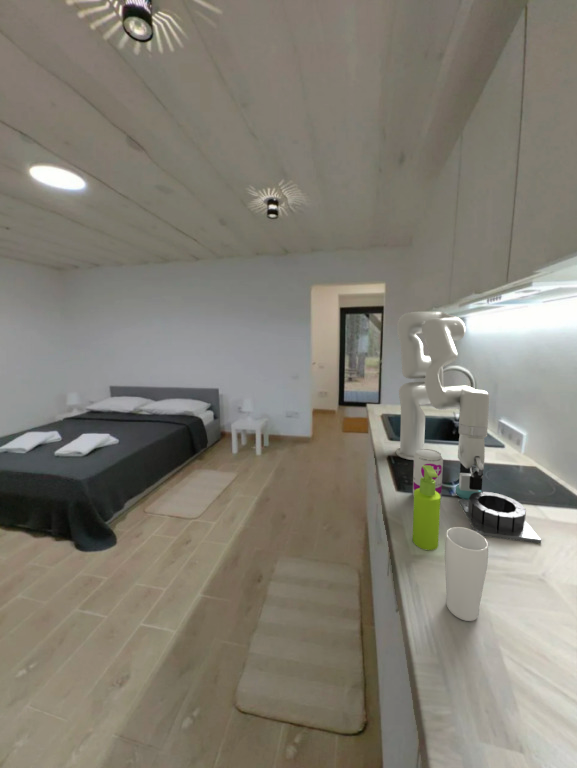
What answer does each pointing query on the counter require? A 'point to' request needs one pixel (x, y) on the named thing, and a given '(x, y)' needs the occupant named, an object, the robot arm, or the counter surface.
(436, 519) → the soap dispenser
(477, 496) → the segmented ring on plate
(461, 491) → the cap
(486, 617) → the counter surface
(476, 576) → the drinking glass
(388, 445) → the counter surface
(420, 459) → the supplement can
